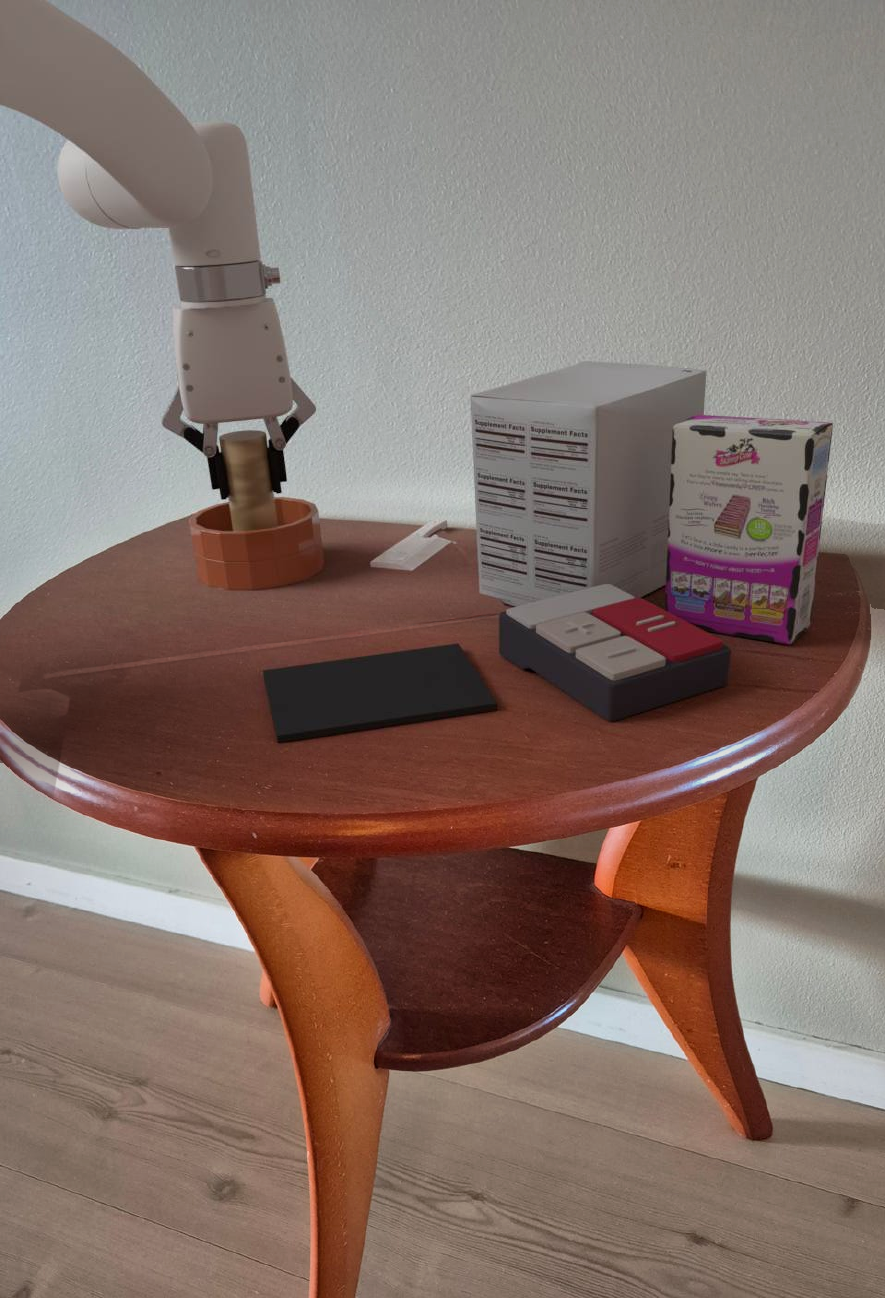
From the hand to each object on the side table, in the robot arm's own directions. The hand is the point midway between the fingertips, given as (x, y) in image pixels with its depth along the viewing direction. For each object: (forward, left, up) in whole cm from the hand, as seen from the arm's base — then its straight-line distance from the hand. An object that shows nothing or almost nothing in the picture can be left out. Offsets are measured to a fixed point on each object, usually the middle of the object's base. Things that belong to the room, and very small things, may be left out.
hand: (250, 491), depth 105 cm
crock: (0, 0, -8) cm, 8 cm away
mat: (+6, -32, -8) cm, 34 cm away
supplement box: (+29, -15, -8) cm, 34 cm away
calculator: (+24, -34, -8) cm, 42 cm away
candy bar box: (+37, -29, -8) cm, 48 cm away
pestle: (0, 0, -8) cm, 8 cm away
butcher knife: (+17, +1, -8) cm, 19 cm away
